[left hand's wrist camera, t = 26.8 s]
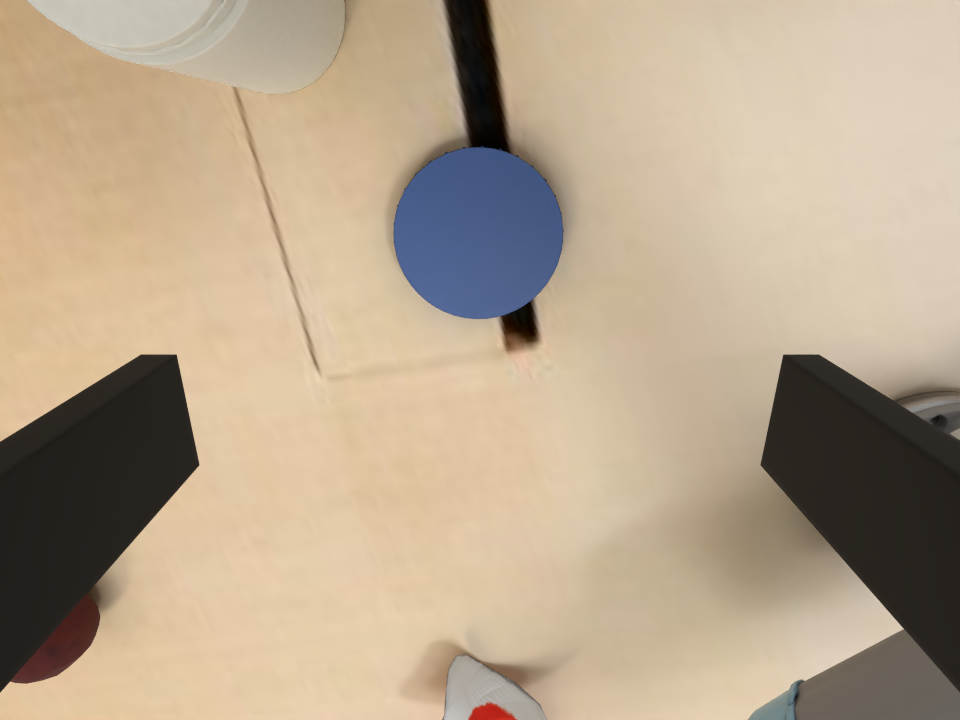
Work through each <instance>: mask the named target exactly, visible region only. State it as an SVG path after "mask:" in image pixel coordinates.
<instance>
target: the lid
mask: <svg viewBox="0 0 960 720" xmlns="http://www.w3.org/2000/svg"><path fill="white" fill-rule="evenodd" d="M501 150H502V149H499V150H497V149H493V148H484V147H483V146H481V147H471V148H465V147H463V149H459V150H456V151H453V152H449V153H448V152H445V155H443V156H440V157H438V158H437V159H435V160H433V161H429V164H427V165H426V166H425V167H424V168H423V169H422V170H421V171H419V172H418V173H416V174H415V175H416V176H415V177H414V178H413V179H412V180H411V182H410V183H409V185H408V186H407V188H405V189H404V190H405V191H404V193H403V195H402V197H401V199H400V202H399V205H397V207H398V208H397V211H396V216H395V221H394V245H395V250H396V255H397V258H398V261H399V264H400V267H401V269H402V271H403V273H404V275H405V277H406V278H407V280H408V281H409V283H410V284H411V286H412V287H413V288H414V289H415V290H416V292H417V293H418V294H419V295H420V296H422V297H423V298H424V299H425V300H426V301H427V302H429V303H430V304H432V305H433V306H435V307H436V308H438V309H440V310H442V311H444V312H446V313H449V314H452V315H455V316H459V317H463V318H471V319H487V318H494V317H498V316H502V315H505V314H508V313H510V312H513V311H515V310H517V309H519V308H520V307H522V306H524V305H525V304H527V303H528V302H529V301H531V300H532V299H533V298H534V297H535V296H536V295H537V294H538V293H539V292H541V290H542V289H543V288H544V287H545V285H546V284H547V283H548V281H549V280H550V278H551V276H552V275H553V273H554V271H555V268H556V266H557V264H558V261H559V257H560V254H561V250H562V243H563V224H562V217H561V212H560V208H559V206H558V203H557V200H556V198H555V197H556V196H555V195H554V194H553V192H552V190H551V188H550V187H549V185H548V184H547V182H546V181H547V180H546V179H544V178H543V177H542V176H541V175H540V174H539V173H538V172H537V171H536V170H535V169H534V166H532V165H531V166H530V165H529V164H528V163H526V162H525V161H523V160H522V159H520V158H518V157H519V156H518V155H516V156H514V155H512V154H509V153H507V152H504V151H501Z"/></svg>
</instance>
